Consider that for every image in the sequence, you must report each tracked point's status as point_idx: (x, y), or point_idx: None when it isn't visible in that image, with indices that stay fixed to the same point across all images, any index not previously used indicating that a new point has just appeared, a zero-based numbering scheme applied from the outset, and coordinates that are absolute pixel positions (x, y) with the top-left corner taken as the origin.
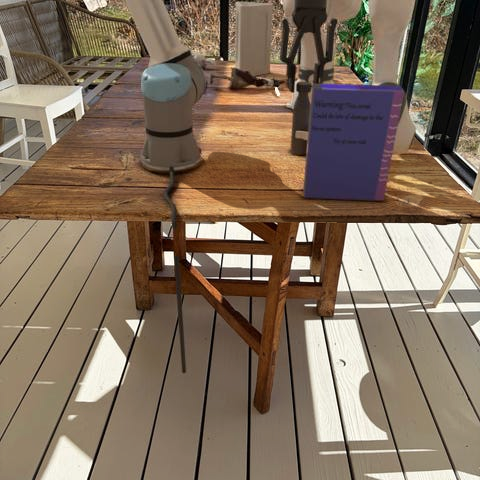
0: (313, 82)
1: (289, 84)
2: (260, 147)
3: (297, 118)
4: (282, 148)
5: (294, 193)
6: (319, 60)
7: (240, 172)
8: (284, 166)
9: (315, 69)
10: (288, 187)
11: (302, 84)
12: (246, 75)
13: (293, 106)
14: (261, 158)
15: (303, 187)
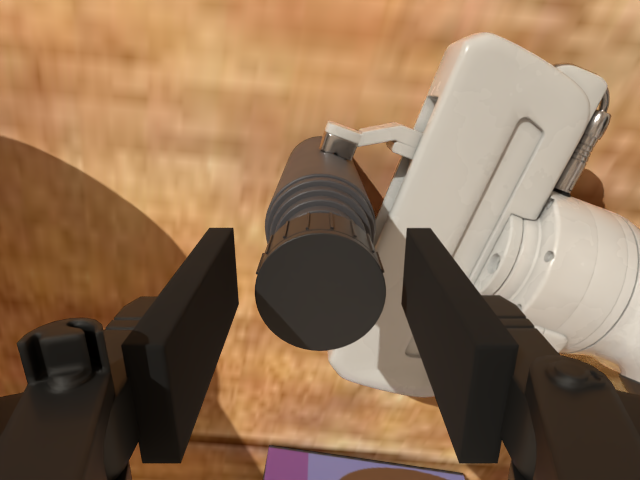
0: (418, 261)
1: (198, 245)
2: (167, 98)
3: None
4: (262, 119)
5: (242, 458)
6: (531, 445)
7: None
8: (242, 296)
9: (449, 357)
10: (232, 428)
11: (295, 335)
12: None
13: (265, 219)
14: (166, 220)
15: (268, 451)
